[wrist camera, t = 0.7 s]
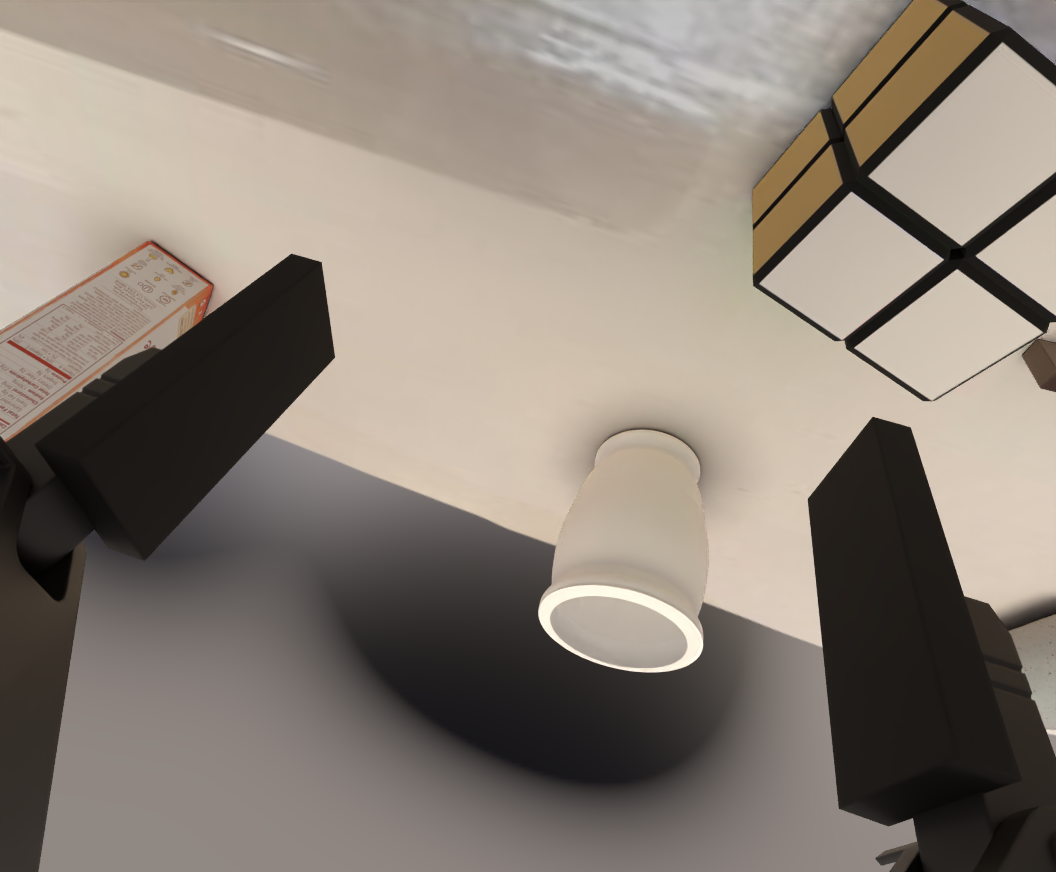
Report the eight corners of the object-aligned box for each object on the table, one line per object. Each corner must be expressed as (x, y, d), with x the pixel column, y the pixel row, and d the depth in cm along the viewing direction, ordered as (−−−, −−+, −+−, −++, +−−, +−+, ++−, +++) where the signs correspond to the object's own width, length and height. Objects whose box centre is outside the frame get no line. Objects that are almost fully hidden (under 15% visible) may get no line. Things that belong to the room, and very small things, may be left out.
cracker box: (190, 376, 54) (-10, 552, 40) (130, 337, 53) (-100, 506, 38) (221, 287, 45) (-26, 475, 31) (150, 236, 43) (-147, 409, 29)
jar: (644, 394, 40) (608, 566, 30) (744, 471, 43) (741, 656, 33) (559, 459, 48) (506, 615, 38) (648, 522, 50) (621, 685, 40)
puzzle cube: (1103, 124, 24) (1244, 220, 17) (891, 294, 31) (930, 409, 24) (927, -20, 22) (1004, 22, 16) (747, 193, 30) (746, 286, 23)
